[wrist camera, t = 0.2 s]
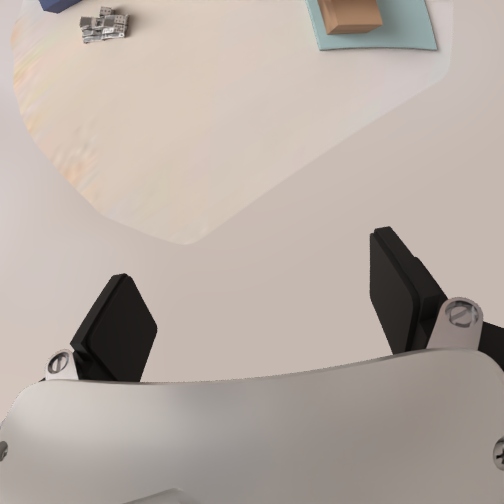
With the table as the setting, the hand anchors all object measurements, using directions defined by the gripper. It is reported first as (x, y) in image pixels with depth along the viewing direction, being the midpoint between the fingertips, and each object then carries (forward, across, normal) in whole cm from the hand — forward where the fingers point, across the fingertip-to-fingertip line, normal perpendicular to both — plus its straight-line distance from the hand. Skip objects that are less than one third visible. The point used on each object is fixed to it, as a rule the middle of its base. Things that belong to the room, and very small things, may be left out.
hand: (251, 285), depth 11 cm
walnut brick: (+30, -15, -18) cm, 38 cm away
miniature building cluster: (+32, +15, -26) cm, 44 cm away
